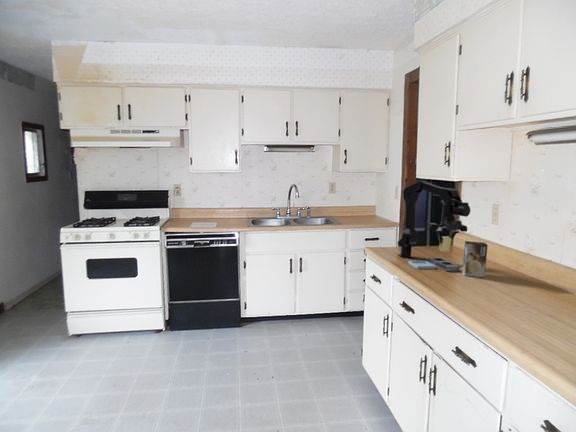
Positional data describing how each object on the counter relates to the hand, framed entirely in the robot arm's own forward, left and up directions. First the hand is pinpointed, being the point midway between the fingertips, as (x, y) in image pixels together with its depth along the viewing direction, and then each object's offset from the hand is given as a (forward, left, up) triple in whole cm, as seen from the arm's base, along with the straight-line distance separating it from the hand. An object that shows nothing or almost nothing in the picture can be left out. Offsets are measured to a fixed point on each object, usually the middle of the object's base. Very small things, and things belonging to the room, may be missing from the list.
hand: (445, 243), depth 201 cm
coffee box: (+13, +9, -13) cm, 20 cm away
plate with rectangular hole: (-2, +2, -13) cm, 13 cm away
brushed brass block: (0, 0, -4) cm, 4 cm away
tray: (-3, -10, -13) cm, 16 cm away
